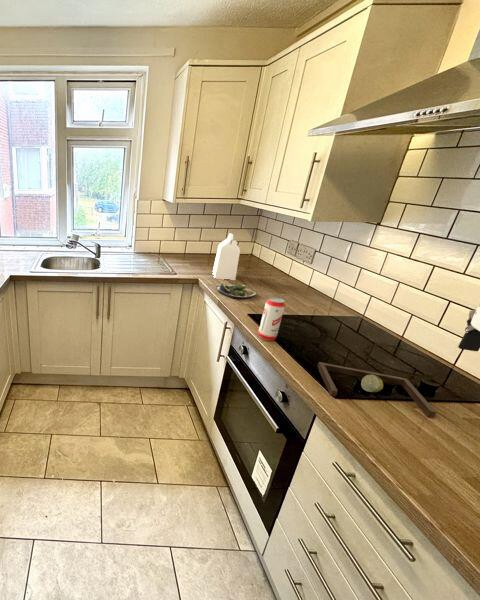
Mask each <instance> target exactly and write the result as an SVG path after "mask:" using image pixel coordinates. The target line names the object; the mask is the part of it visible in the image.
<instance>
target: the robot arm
mask: <svg viewBox="0 0 480 600" xmlns="http://www.w3.org/2000/svg"><path fill="white" fill-rule="evenodd" d="M466 325H467V326H466V327H464V334H463V336H462V338H461V340H460V342H459V343H458V345H457V348H458V349H460V350H464V351H471V352H479V350H480V304H479V305H478V307H477V308H476V309H470V310H469V313H468V319H467V320H466Z"/></svg>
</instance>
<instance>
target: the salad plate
mask: <svg viewBox="0 0 480 600" xmlns="http://www.w3.org/2000/svg"><path fill="white" fill-rule="evenodd" d="M214 287H215V288H216V291H217V292H218V293H219V294H220V295H222V296H224V297H226V298H230V299H234V300H244V299H248V298H249V299H250V298H251V297H254V296H256V295H257V292H256V291H254V290H251V289H250V288H251V286H246V285H245V284H243V285H242V284H228V285H227V284H226V283H221V284H220V285H215V286H214Z"/></svg>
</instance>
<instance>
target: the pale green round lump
mask: <svg viewBox="0 0 480 600" xmlns="http://www.w3.org/2000/svg"><path fill="white" fill-rule="evenodd" d="M360 386H361V388H362V389H363V390H364V391H366V392H368V393H378V392H380V391H381V390H383V389H384V382H382V380H381V379H380V378H379V377H378V376H375V375H367V376H365V377H363V378H362V379H361V382H360Z"/></svg>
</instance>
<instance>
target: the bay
mask: <svg viewBox="0 0 480 600" xmlns="http://www.w3.org/2000/svg"><path fill="white" fill-rule="evenodd" d="M317 367H318V368H317ZM317 367H316V368H317V370H318V369H319V370H318V372H319V374H320V376H321V378H322V381H323V382H324V385H325V387H326V389H327V391H328V393H329V395H330V397H334V398H336V397H337V394H338V392H339V391H338V388H337V387H336V385H335V383H334V381H333V379H332V377H331V374H330V373H329V372H332V373H337V374H343V375H347V376H353V377H357V378H362V379H363V377H365V376H367V375H375V376H378V377H379V378H380V379H381V380H382V382H383V383H388V384H393V385H397V386H401V387H402V388H403V389H404V391H406V393H407V394H408V395H409V397H411V399H412V400H413V401H414V403H415V404H416V405H417V406H418V408H419V409H420V410H421V411H422V412H423V414H424V415H425V416H426V417H427V418H430V419H434V418H435V416H436V415H437V410H435V408H433V406H432V405H431V404H430V403H429V402H428V401H427V399H426V398H424V396H423V395H422V394H421V393H420V392H419V390H418V389H417V388H416V387H415V386H414V385H413V384H412V383H411V382H410V380H409V378H405V377H401V376H396V375H390V374H384V373H379V372H374V371H368V370H363V369H357V368H352V367H347V366H342V365H337V364H332V363H327V362H322V361H319V362H318V364H317Z"/></svg>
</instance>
